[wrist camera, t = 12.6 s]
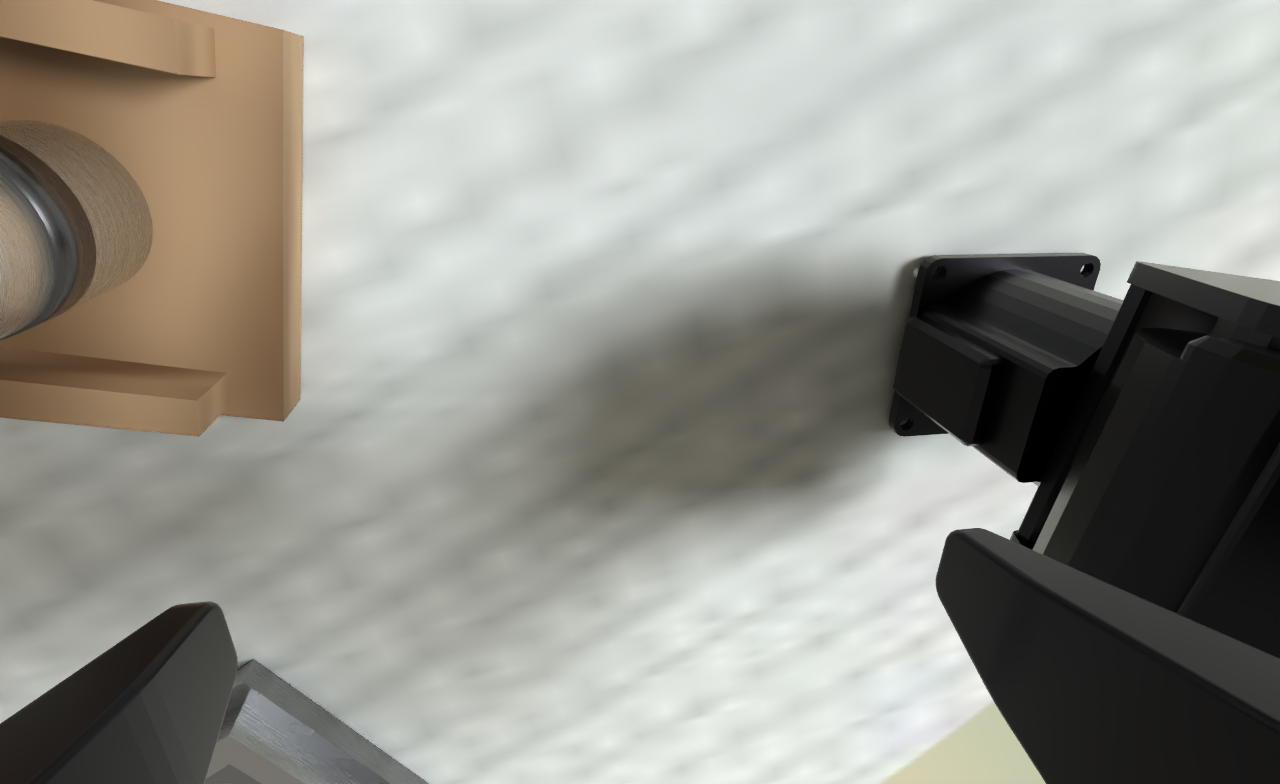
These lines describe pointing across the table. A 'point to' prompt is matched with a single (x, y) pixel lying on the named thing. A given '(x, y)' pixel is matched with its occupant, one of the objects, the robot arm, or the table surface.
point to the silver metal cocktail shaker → (63, 223)
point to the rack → (169, 213)
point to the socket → (292, 740)
